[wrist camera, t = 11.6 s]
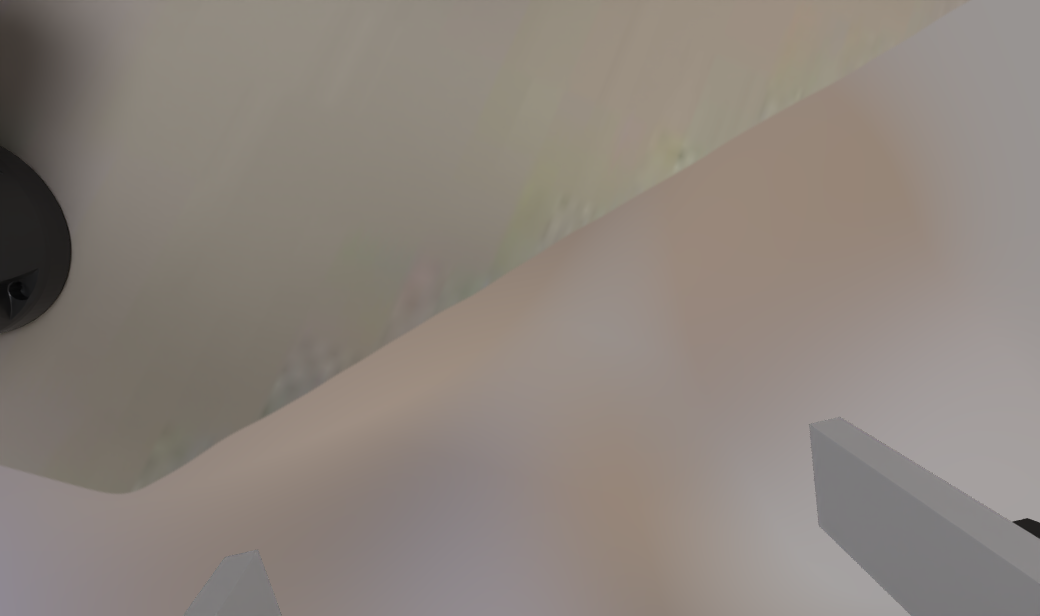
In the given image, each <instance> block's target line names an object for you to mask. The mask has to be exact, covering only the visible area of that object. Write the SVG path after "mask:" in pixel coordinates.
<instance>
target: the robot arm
mask: <svg viewBox="0 0 1040 616" xmlns="http://www.w3.org/2000/svg"><path fill="white" fill-rule="evenodd" d="M69 262H70V243H69V236H68V231H67V226H66V223H65V220H64V217H63V215H62V212H61V210H60V208H59V206H58V204H57V202H56V200H55V198H54V196H53V195H52V193H51V192H50V190H49V189H48V187H47V186H46V185H45V184H44V182H43V181H42V180H41V179H40V178H39V176H38V175H37V174H36V173H35V172H34V171H33V170H32V169H31V168H30V167H29V166H27V165H26V164H25V163H24V162H23V161H22V160H20V159H19V158H18V157H16V156H15V155H13V154H12V153H11V152H9V151H7V150H6V149H4V148H2V147H1V146H0V333H3V332H6V331H10V330H13V329H16V328H19V327H21V326H23V325H25V324H27V323H29V322H31V321H33V320H34V319H36V318H37V317H38V316H40V315H41V314H42V313H43V312H45V311H46V310H47V309H48V308H49V307H50V305H51V304H52V303H53V302H54V300H55V299H56V298H57V296H58V295H59V293H60V291H61V289H62V287H63V285H64V282H65V279H66V277H67V273H68V268H69ZM809 427H810V438H811V448H812V459H813V470H814V481H815V491H816V502H817V511H818V523H819V526H820V527H821V528H822V529H823V530H824V531H825V532H826V533H827V534H828V535H829V536H830V537H831V538H832V539H833V540H834V541H836V543H837V544H838V545H839V546H840V547H841V548H842V549H844V551H846V552H847V553H848V554H849V555H850V556H851V557H852V558H853V559H854V560H855V561H856V562H857V563H858V564H859V565H860V566H861V567H862V568H863V569H864V570H865V571H866V572H867V573H868V574H869V575H870V576H871V577H872V578H873V579H874V580H875V581H876V582H877V583H878V584H879V585H880V586H881V587H883V589H885V590H886V591H887V592H888V593H889V594H890V595H891V596H892V597H893V598H894V599H895V600H896V601H897V602H898V603H899V604H900V605H901V606H902V607H903V608H904V609H905V610H906V611H907V612H908V613H909V614H910V615H911V616H1040V523H1039V522H1036V521H1034V520H1031V519H1028V518H1026V519H1022V520H1018V521H1013V522H1011V521H1010V520H1008V519H1006V518H1004V517H1003V516H1001V515H1000V514H998V513H996V512H995V511H993V510H991V509H990V508H988V507H987V506H985V505H983V504H982V503H980V502H979V501H977V500H975V499H973V498H972V497H970V496H968V495H967V494H966V493H964V492H962V491H960V490H959V489H957V488H956V487H954V486H952V485H951V484H949V483H948V482H946V481H944V480H943V479H941V478H939V477H938V476H936V475H934V474H933V473H931V472H930V471H928V470H926V469H925V468H923V467H921V466H920V465H918V464H916V463H915V462H913V461H912V460H910V459H908V458H907V457H905V456H903V455H902V454H900V453H899V452H897V451H895V450H893V449H892V448H890V447H889V446H887V445H886V444H884V443H882V442H881V441H879V440H877V439H876V438H874V437H872V436H871V435H869V434H867V433H866V432H864V431H863V430H861V429H859V428H858V427H856V426H854V425H853V424H851V423H850V422H848V421H846V420H844V419H843V418H841V417H838V418H834V419H829V420H825V421H820V422H816V423H811V424H809ZM183 616H282V614H281V612H280V609H279V606H278V603H277V601H276V598H275V595H274V593H273V590H272V587H271V584H270V581H269V579H268V576H267V573H266V570H265V568H264V565H263V562H262V559H261V557H260V554H259V551H258V550H254V551H250V552H245V553H241V554H236V555H232V556H228V557H225V558H224V559H223V560H222V562H221V563H220V565H219V566H218V567H217V569H216V570H215V572H214V573H213V575H212V576H211V577H210V579H209V580H208V581H207V583H206V584H205V586H204V587H203V589H202V590H201V591H200V593H199V594H198V596H197V597H196V598H195V600H194V601H193V602H192V604H191V605H190V607H189V608H188V609H187V611H186V612H185V614H184V615H183Z"/></svg>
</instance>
